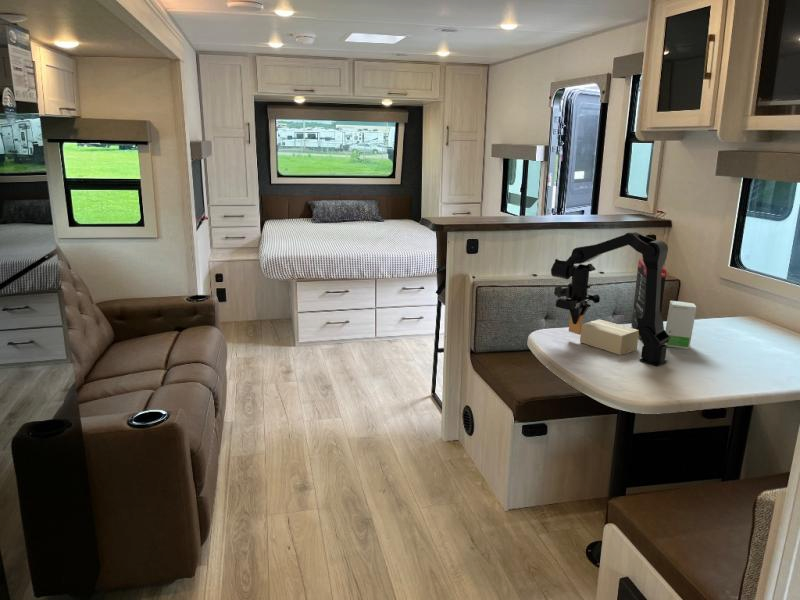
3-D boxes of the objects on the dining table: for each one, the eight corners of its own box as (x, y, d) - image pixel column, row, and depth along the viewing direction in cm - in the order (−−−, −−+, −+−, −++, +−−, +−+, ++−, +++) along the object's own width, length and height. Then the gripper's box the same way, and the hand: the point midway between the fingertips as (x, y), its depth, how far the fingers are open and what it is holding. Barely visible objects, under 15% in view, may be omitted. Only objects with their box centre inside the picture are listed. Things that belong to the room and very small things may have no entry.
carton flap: (621, 354, 201) (624, 326, 199) (619, 354, 201) (622, 327, 198) (569, 337, 217) (572, 312, 215) (567, 338, 217) (570, 313, 214)
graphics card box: (658, 342, 215) (669, 268, 208) (639, 340, 217) (648, 267, 209) (647, 328, 232) (656, 259, 225) (629, 326, 233) (637, 258, 226)
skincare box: (664, 346, 211) (670, 304, 207) (663, 341, 217) (668, 300, 213) (690, 349, 208) (697, 307, 204) (688, 343, 214) (694, 302, 210)
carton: (636, 349, 207) (639, 329, 205) (620, 354, 201) (623, 335, 199) (597, 337, 219) (599, 318, 218) (581, 342, 213) (582, 323, 212)
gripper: (576, 274, 221) (572, 314, 225) (544, 280, 210) (541, 322, 214) (602, 279, 213) (598, 321, 217) (571, 286, 201) (567, 330, 205)
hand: (575, 323), depth 213 cm, fingers closed, pressing on carton flap
